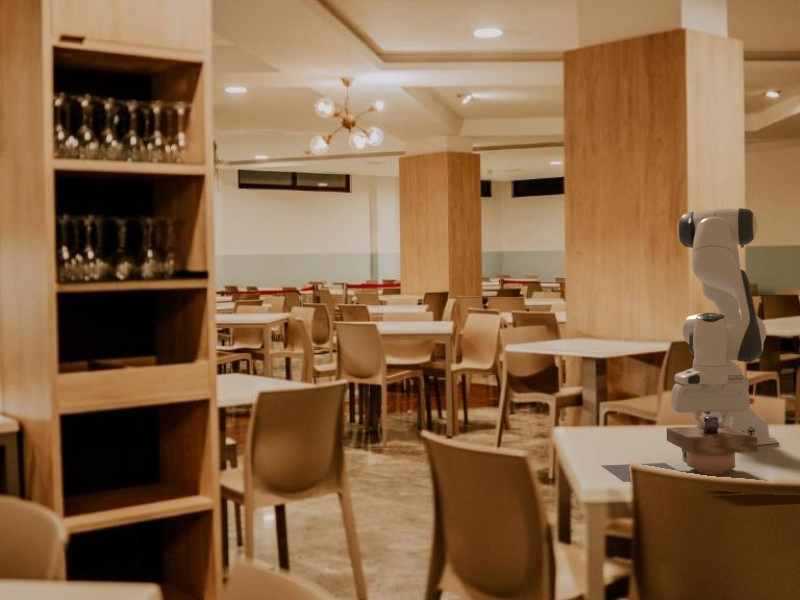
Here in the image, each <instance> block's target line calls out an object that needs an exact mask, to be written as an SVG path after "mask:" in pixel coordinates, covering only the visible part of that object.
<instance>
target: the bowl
mask: <svg viewBox="0 0 800 600" xmlns="http://www.w3.org/2000/svg"><path fill="white" fill-rule="evenodd" d="M686 459H687V462H686V465H687V466H688V467H689V468H691V469H692V468H693V469H696V472H698V473H700V474H705V475H722V474H725V473H726V471H729V470H730V471H731V470H733V469H736V452H730V453H702V454H692V453H690V452H688V451H687V458H686Z"/></svg>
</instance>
